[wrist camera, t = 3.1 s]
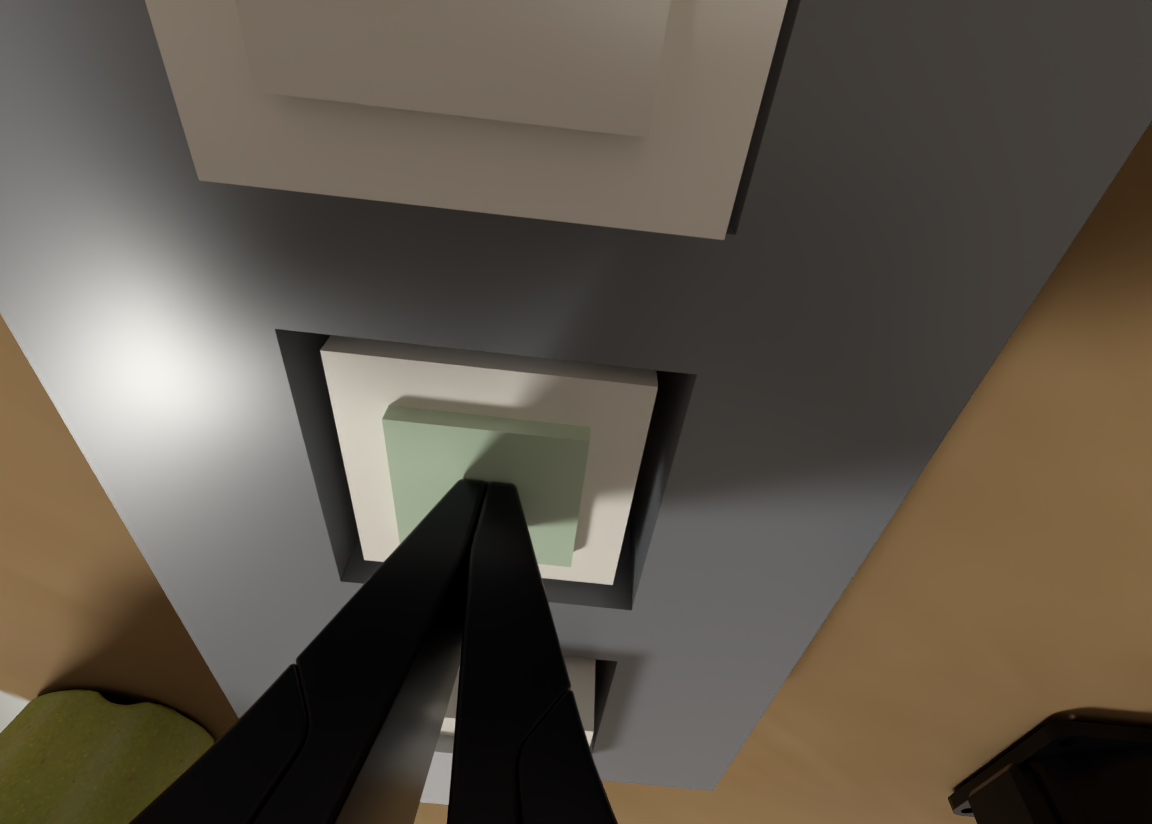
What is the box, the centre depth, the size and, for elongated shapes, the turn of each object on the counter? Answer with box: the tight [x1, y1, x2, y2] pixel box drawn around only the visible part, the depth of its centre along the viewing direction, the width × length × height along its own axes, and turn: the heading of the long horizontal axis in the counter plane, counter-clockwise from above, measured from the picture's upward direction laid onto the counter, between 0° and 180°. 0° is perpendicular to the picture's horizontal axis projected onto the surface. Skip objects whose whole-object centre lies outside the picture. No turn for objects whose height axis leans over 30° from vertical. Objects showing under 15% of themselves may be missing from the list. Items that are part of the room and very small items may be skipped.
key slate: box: [420, 656, 596, 805], centre depth 13 cm, size 4×4×2 cm
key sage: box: [320, 335, 658, 585], centre depth 10 cm, size 4×4×2 cm
